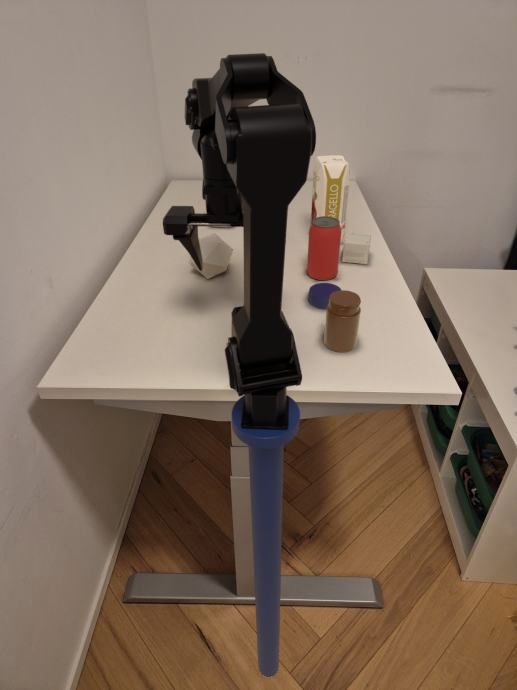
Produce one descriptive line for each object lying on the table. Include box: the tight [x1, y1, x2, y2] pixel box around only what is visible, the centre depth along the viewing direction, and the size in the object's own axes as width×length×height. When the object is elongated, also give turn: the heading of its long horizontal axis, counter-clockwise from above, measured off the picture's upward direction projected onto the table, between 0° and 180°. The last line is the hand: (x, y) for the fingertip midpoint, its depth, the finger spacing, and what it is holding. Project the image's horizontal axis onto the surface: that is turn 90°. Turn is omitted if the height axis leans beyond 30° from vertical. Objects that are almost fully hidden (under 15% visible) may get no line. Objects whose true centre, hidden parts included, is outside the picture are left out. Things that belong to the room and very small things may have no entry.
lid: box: [307, 282, 342, 310], centre depth 92 cm, size 6×6×2 cm
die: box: [188, 232, 234, 280], centre depth 100 cm, size 8×9×10 cm
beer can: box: [306, 216, 342, 281], centre depth 98 cm, size 7×7×12 cm
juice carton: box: [310, 154, 351, 244], centre depth 111 cm, size 8×9×19 cm
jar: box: [323, 289, 362, 353], centre depth 78 cm, size 6×6×9 cm
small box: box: [341, 232, 372, 265], centre depth 106 cm, size 6×6×5 cm
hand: (228, 270), depth 78 cm, fingers open, 9 cm apart
